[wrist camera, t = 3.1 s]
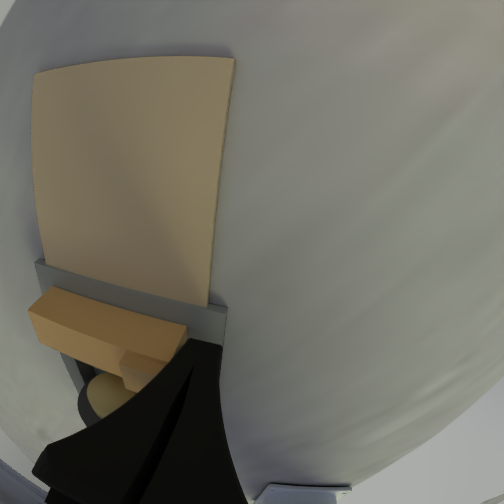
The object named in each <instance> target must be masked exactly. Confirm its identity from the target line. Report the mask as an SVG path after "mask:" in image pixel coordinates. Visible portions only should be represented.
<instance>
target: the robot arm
mask: <svg viewBox="0 0 504 504" xmlns="http://www.w3.org/2000/svg"><path fill="white" fill-rule="evenodd" d="M222 352H223V347H222V346H221V345H220V344H215V343H211V342H206V341H202V340H198V339H194V338H189V339H187V341H186V342H185V343H184V345H183V346H182V347H181V348H180V350H179V351H178V352H177V353H176V355H175V356H174V357H173V358H172V359H171V360H170V361H169V363H168V364H167V365H166V366H165V367H164V368H163V369H162V370H161V371H160V372H159V373H158V374H157V375H156V376H155V377H154V378H153V379H152V380H151V381H150V382H149V383H148V384H147V385H146V386H144V387H143V388H142V389H141V390H140V391H139V392H138V393H137V394H135V395H134V396H133V397H132V398H131V399H129V400H128V401H127V402H125V403H124V404H123V405H122V406H120V407H119V408H117V409H116V410H114V411H113V412H112V413H110V414H109V415H107V416H106V417H104V418H102V419H101V420H99V421H98V422H96V423H94V424H92V425H90V426H88V427H87V428H85V429H83V430H81V431H79V432H77V433H75V434H73V435H71V436H68V437H66V438H63V439H61V440H59V441H56V442H54V443H51V444H49V445H47V446H46V448H45V449H44V451H43V452H42V453H41V454H40V456H39V458H38V460H37V462H36V464H35V466H34V468H33V469H32V474H33V475H34V476H35V477H37V478H38V479H39V480H41V481H42V482H44V483H45V484H46V485H48V486H49V487H51V488H50V490H49V492H48V493H47V492H46V491H44V490H42V489H41V488H40V487H38V486H37V485H35V484H34V483H32V482H31V481H29V480H28V479H26V478H25V477H24V476H22V475H21V474H19V473H18V472H17V471H15V470H14V469H12V468H11V467H10V466H9V465H7V464H6V463H5V462H4V461H2V460H1V459H0V504H248V502H247V500H246V498H245V495H244V493H243V490H242V488H241V485H240V482H239V480H238V477H237V474H236V471H235V468H234V465H233V461H232V458H231V455H230V451H229V447H228V443H227V439H226V434H225V429H224V424H223V418H222V411H221V403H220V389H219V377H220V369H221V360H222ZM351 491H352V488H351V487H305V486H290V485H278V484H269V485H268V486H267V487H266V488H265V489H264V491H263V492H262V493H261V494H260V496H259V497H258V498H257V499H256V501H255V502H254V504H336V501H337V500H339V499H340V498H342V497H343V496H345V495H347V494H348V493H350V492H351Z"/></svg>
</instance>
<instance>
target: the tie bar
mask: <svg viewBox="0 0 504 504" xmlns="http://www.w3.org/2000/svg"><path fill="white" fill-rule="evenodd" d="M28 313H29V316H30V318H31V321H32V324H33V326H34V329H35V331H36V334H37V336H38V338H39V341H40V342H41V343H43V344H45V345H47V346H49V347H51V348H53V349H55V350H57V351H59V352H61V353H64V354H66V355H68V356H70V357H73V358H75V359H77V360H79V361H82V362H84V363H87V364H89V365H91V366H94V367H96V368H99V369H102V370H104V371H107V372H109V373H112V374H115V375H117V376H120V377H122V378H123V381H124V385H125V388H126V389H128V390H131V391H134V392H137V393H138V392H139V391H140V390H141V389H142V388H143V387H144V386H146V385H147V384H148V383H149V382H150V381H151V380H152V379H153V378H154V377H155V376H156V375H157V374H158V373H159V372H160V371H161V370H162V369H163V368H164V367H165V366H166V365H167V364H168V363H169V361H170V360H171V359H172V358H173V357H174V356H175V355H176V353H177V352H178V351H179V350H180V348H181V347H182V346H183V345H184V343H185V342H186V341H187V326H185V325H181V324H177V323H173V322H169V321H165V320H161V319H158V318H154V317H150V316H146V315H143V314H139V313H136V312H132V311H129V310H125V309H122V308H118V307H115V306H112V305H108V304H105V303H102V302H99V301H96V300H93V299H89V298H86V297H83V296H80V295H77V294H74V293H71V292H68V291H66V290H63V289H60V288H57V287H54V286H51V287H50V288H49V289H48V290H47V291H46V292H45V293H44V294H43V295H42V296H41V297H40V298H39V299H38V300H37V301H36V302H35V303H34V304H33V305H32V306H31V307H30V308H29V309H28Z"/></svg>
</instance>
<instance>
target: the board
mask: <svg viewBox="0 0 504 504" xmlns="http://www.w3.org/2000/svg"><path fill="white" fill-rule="evenodd" d="M235 61H236V59H234V58H224V57H204V56H158V57H139V58H126V59H115V60H106V61H98V62H91V63H85V64H79V65H73V66H67V67H62V68H57V69H53V70H48V71H44V72H40V73H36V74H34V79H33V91H32V109H31V153H32V172H33V184H34V194H35V203H36V211H37V218H38V224H39V230H40V236H41V242H42V247H43V252H44V257H45V260H42V259H38V260H37V261H36V262H34V263H35V267H36V271H37V275H38V279H39V283H40V286H41V290H42V293H43V294H44V293H45V292H46V291H47V290H48V289H49V288H50V287H51V286H54V287H57V288H60V289H63V290H66V291H68V292H71V293H74V294H77V295H80V296H83V297H86V298H89V299H93V300H96V301H99V302H102V303H105V304H108V305H112V306H115V307H118V308H122V309H125V310H129V311H132V312H136V313H139V314H143V315H146V316H150V317H154V318H158V319H161V320H165V321H169V322H173V323H177V324H181V325H185V326H187V339H189V338H194V339H198V340H202V341H206V342H211V343H215V344H220V345H221V346H222V347H223V342H224V333H225V325H226V316H227V308H228V307H223V306H218V305H214V304H209V303H208V301H209V287H210V274H211V262H212V251H213V239H214V229H215V218H216V209H217V199H218V190H219V180H220V172H221V163H222V155H223V146H224V138H225V131H226V123H227V115H228V108H229V101H230V94H231V87H232V80H233V74H234V67H235ZM60 354H61V356H62V359H63V361H64V363H65V365H66V368H67V370H68V372H69V374H70V376H71V379H72V381H73V383H74V385H75V387H76V389H77V391H78V393H79V394H80V391H81V389H82V388H83V386H84V385H85V384H86V383H87V382H88V381H89V380H90V379H92V378H94V377H95V376H97V375H100V374H102V373H107V371H104V370H102V369H99V368H96V367H94V366H91V365H89V364H87V363H84V362H82V361H79V360H77V359H75V358H73V357H70V356H68V355H66V354H64V353H61V352H60Z"/></svg>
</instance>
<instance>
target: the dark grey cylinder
mask: <svg viewBox="0 0 504 504" xmlns="http://www.w3.org/2000/svg"><path fill="white" fill-rule="evenodd" d="M135 394H137V392H134V391H131V390H128V389H126V388H125V385H124V381H123V378H122V377H120V376H117V375H115V374H112V373H109V372H107V373H102V374H100V375H97V376H95V377H94V378H92V379H90V380H89V381H88V382H87V383H86V384H85V385H84V386H83V388H82V389H81V391H80V394H79V397H78V411H79V414H80V416H81V418H82V420H83V421H84V423H85V425H86V426H87V427H88V426H90V425H92V424H94V423H96V422H98V421H99V420H101V419H102V418H104V417H106V416H107V415H109V414H110V413H112V412H113V411H114V410H116V409H117V408H119V407H120V406H122V405H123V404H124V403H125V402H127V401H128V400H129V399H131V398H132V397H133V396H134V395H135Z"/></svg>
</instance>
